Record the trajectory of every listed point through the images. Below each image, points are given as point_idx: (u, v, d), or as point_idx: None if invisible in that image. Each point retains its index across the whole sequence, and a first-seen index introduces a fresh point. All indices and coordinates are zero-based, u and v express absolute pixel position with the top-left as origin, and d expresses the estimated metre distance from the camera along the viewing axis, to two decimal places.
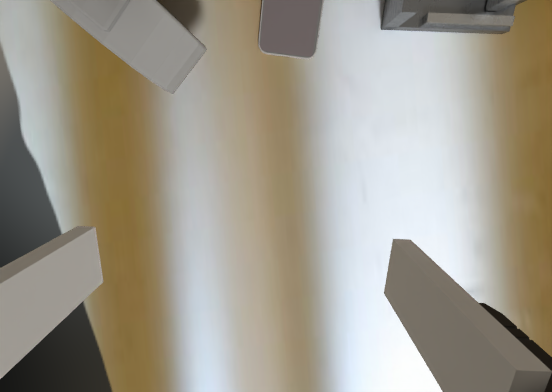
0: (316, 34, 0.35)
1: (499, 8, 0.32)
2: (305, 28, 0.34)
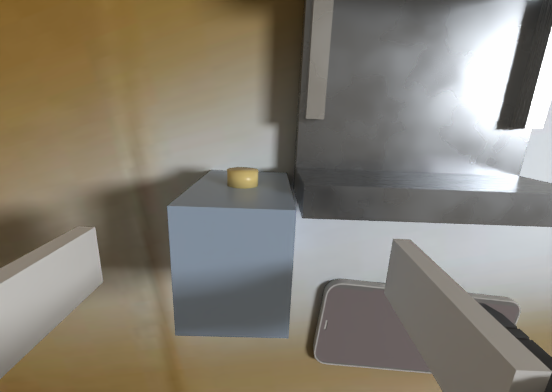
0: (487, 301, 0.21)
1: None
2: None
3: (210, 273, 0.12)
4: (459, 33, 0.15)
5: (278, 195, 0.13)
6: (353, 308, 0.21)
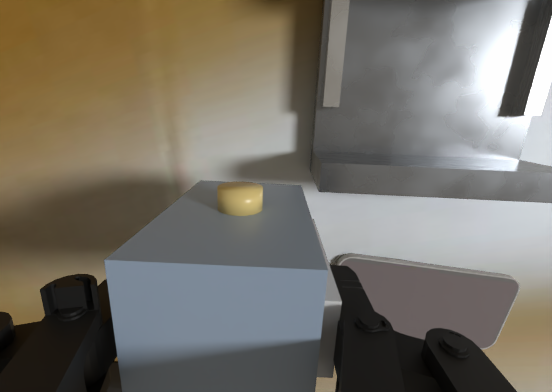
0: (487, 278, 0.23)
1: None
2: (476, 292, 0.23)
3: (182, 365, 0.07)
4: (464, 28, 0.17)
5: (294, 231, 0.08)
6: (363, 280, 0.23)
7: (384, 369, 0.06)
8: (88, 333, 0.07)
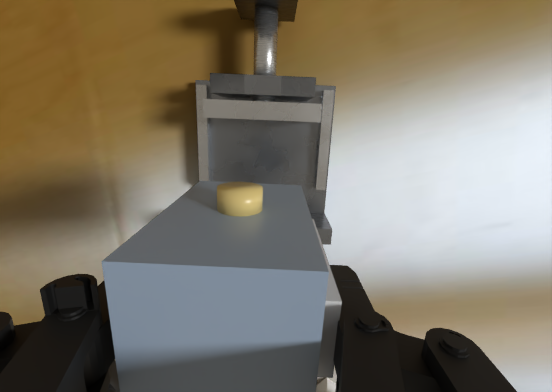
0: None
1: None
2: None
3: (181, 367, 0.07)
4: (278, 140, 0.29)
5: (294, 231, 0.08)
6: None
7: (384, 369, 0.06)
8: (88, 333, 0.07)
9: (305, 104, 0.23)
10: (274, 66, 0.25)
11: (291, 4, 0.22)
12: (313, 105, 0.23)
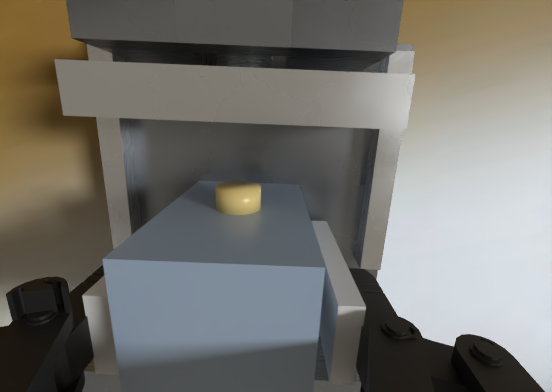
0: None
1: None
2: None
3: (181, 363, 0.07)
4: (281, 166, 0.14)
5: (291, 229, 0.08)
6: None
7: (413, 378, 0.06)
8: (59, 336, 0.07)
9: (364, 76, 0.08)
10: None
11: None
12: (388, 79, 0.08)
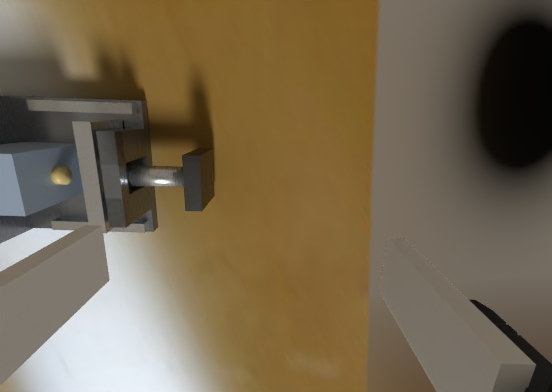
0: None
1: None
2: None
3: None
4: None
5: (45, 200, 0.24)
6: None
7: None
8: None
9: (103, 219, 0.26)
10: (144, 185, 0.27)
11: None
12: (103, 226, 0.26)
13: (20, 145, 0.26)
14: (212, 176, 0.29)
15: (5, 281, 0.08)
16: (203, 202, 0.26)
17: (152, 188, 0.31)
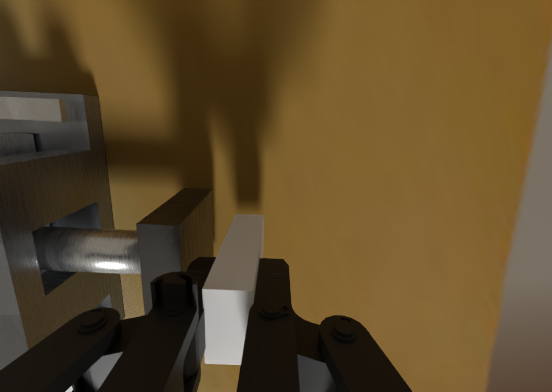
0: None
1: None
2: None
3: None
4: None
5: None
6: None
7: (281, 352, 0.06)
8: (188, 332, 0.07)
9: None
10: None
11: None
12: None
13: None
14: (210, 242, 0.15)
15: (234, 254, 0.10)
16: None
17: None
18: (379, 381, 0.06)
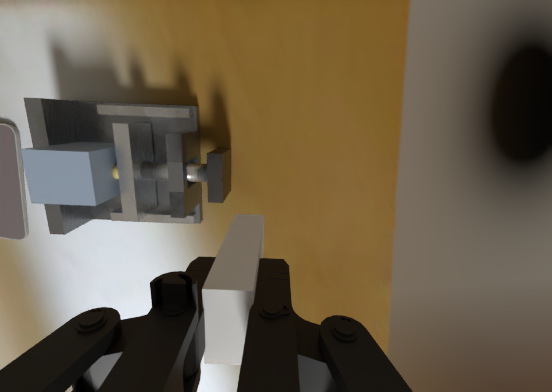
0: (22, 220, 0.36)
1: None
2: (10, 216, 0.36)
3: (59, 168, 0.25)
4: None
5: (108, 193, 0.28)
6: None
7: (282, 352, 0.06)
8: (188, 332, 0.07)
9: (135, 209, 0.29)
10: None
11: None
12: (135, 215, 0.29)
13: (84, 144, 0.30)
14: (229, 172, 0.33)
15: (234, 254, 0.10)
16: (223, 195, 0.29)
17: (200, 184, 0.34)
18: (379, 381, 0.06)
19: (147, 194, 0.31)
